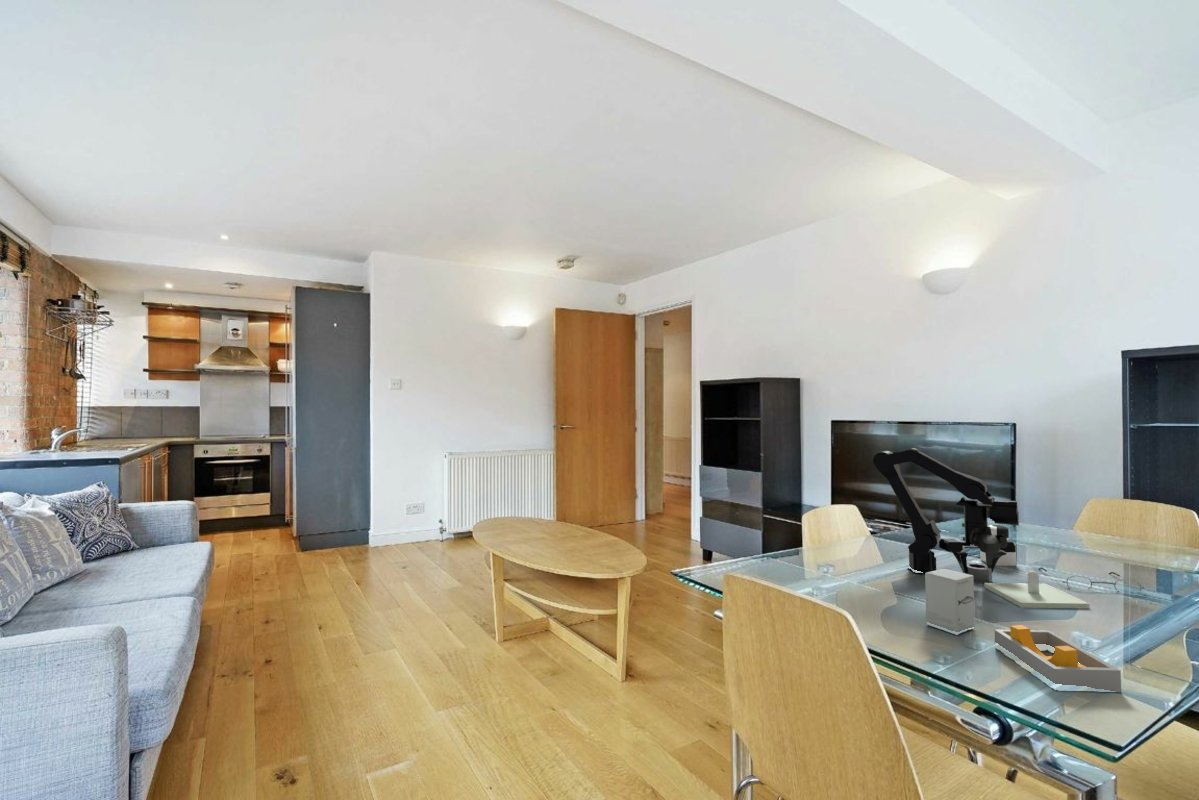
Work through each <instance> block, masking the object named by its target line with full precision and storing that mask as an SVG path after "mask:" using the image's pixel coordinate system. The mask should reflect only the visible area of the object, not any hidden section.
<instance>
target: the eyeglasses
mask: <svg viewBox="0 0 1199 800" xmlns="http://www.w3.org/2000/svg"><path fill="white" fill-rule="evenodd" d="M1038 570H1039V571H1040V570H1043V571H1044V572H1047V573H1048V574H1050V575H1052V576H1053V577H1055V578H1056V579H1058V580H1059V581H1061V582H1062V583H1063V584H1065V583H1066V586H1067V587H1068V588H1069V589H1071V587H1070V586H1069V584H1068V583H1069V582H1068V581H1069V580H1070V579H1071V578H1074V577H1075V575H1071V576H1068V577H1067V578H1066V581H1065V580H1062V579H1060V578H1059V577H1057V576H1056V575H1054V574H1052V573H1051V572H1049V571H1048V570H1047V569H1045V568H1043V567H1039V568H1038ZM1109 574H1110V575H1112V574H1113V575H1115V576H1117V577H1120V579H1117V580H1115V581H1114V582H1110V581H1098V580H1097V581H1092V580H1091V579H1090V578H1088V577H1086V576H1082V575H1078V577H1080V578H1086V579H1088V580H1089V582H1090V586H1089V587H1088V588H1087V590H1090V589H1091V588H1092V587H1093V584H1103V585H1105V584H1106V585H1113V587H1114V589H1115V590H1116V591H1117V590H1118V589H1117V587H1116V585H1117V583H1118V582H1119V581H1124V580H1125V581H1129V582H1131V583H1132V584H1134V585H1137V586H1139V590H1138V591H1140V592H1141V591H1142V589H1145V588H1146V587H1145V586H1142V585H1141V583H1140V582H1139V581H1136V580H1135V579H1129V578H1125V577H1123V576H1121V575H1120V574H1118V573H1117V572H1114V571H1111V572H1109V573H1108V575H1109ZM1133 581H1134V582H1133ZM1135 582H1136V583H1135Z"/></svg>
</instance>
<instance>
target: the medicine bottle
mask: <svg viewBox="0 0 1199 800" xmlns="http://www.w3.org/2000/svg"><path fill="white" fill-rule="evenodd" d="M988 526H989V527H990V529H991V533H992V535H1005V536H1006V537H1007V540H1009V541H1010V531H1009V530H1010V529H1009V528H1008V527H1006V526H1004V525H1001V524H990V525H988ZM1013 543H1014V542H1013ZM1014 544H1015V546H1016V547H1017V545H1016V543H1014ZM979 552H980V554H979V555H980V560H981V561H982V562H984V563H986V555H985V553H984V552H982V551H981V550H980V549H979ZM1005 553H1007V554H1006V555H1003V556H1001V557H1000V558H999V559H998V561H997V563H996V565H995V567H1016V566H1017V551H1016V552H1005Z"/></svg>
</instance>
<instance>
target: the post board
mask: <svg viewBox="0 0 1199 800" xmlns="http://www.w3.org/2000/svg"><path fill="white" fill-rule="evenodd" d="M983 586H984V588H985V589H986V590H989V591H990V592H992V593H994V594H996V595H998V596H1000V597H1001V598H1003V599H1004V600H1007V601H1008V602H1011V603H1013V604H1014V605H1016V606H1018V607H1019V608H1021V609H1023V608H1027V609H1028V608H1030V609H1034V608H1035V609H1090V603H1089V602H1088V601H1087V602H1086V601H1084V600H1082V599H1080V598H1078V597H1076V596H1073V595H1071V594H1069V593H1067V592H1065V591H1062V590H1060V589H1058V588H1057V587H1053V586H1051V585H1049V584H1047V583H1040V575H1039V573H1038V572H1037V571H1035V570H1030V571H1028V572H1027V583H1026V582H1025V583H1024V582H1023V583H1020V582H1019V583H1017V582H1011V583H1010V582H990V583H983Z"/></svg>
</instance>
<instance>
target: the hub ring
mask: <svg viewBox="0 0 1199 800" xmlns="http://www.w3.org/2000/svg"><path fill="white" fill-rule="evenodd" d="M967 574H969V575H973V581H974V583H977V584H984V583H992V581H993V572H992V567H990V566H987V565H986V564H983V563H977V562H967Z"/></svg>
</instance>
